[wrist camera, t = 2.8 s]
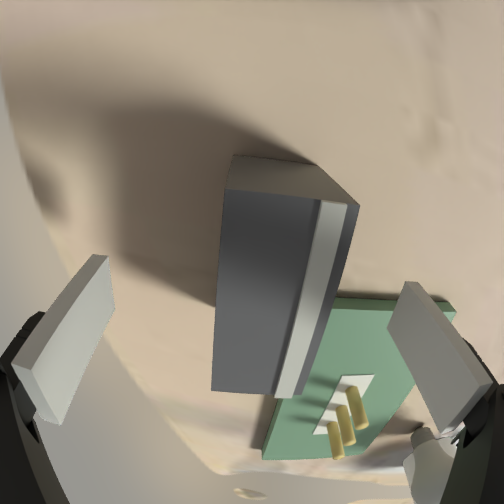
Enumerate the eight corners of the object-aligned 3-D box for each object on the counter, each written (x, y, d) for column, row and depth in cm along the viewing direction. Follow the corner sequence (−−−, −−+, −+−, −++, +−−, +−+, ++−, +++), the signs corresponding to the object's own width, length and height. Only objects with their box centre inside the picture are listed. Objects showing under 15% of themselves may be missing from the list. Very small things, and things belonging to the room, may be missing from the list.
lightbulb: (387, 446, 29) (408, 522, 19) (404, 420, 26) (433, 506, 16) (429, 435, 29) (454, 504, 19) (449, 407, 26) (482, 484, 16)
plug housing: (233, 154, 15) (224, 190, 9) (318, 165, 15) (362, 207, 9) (219, 310, 19) (210, 394, 13) (287, 315, 19) (301, 398, 13)
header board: (307, 295, 18) (322, 350, 14) (449, 302, 19) (480, 344, 15) (261, 450, 27) (263, 489, 23) (359, 445, 28) (368, 479, 24)
